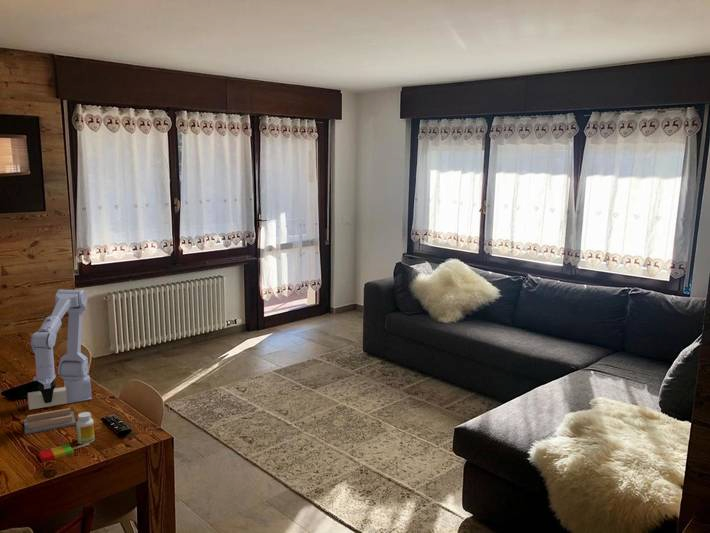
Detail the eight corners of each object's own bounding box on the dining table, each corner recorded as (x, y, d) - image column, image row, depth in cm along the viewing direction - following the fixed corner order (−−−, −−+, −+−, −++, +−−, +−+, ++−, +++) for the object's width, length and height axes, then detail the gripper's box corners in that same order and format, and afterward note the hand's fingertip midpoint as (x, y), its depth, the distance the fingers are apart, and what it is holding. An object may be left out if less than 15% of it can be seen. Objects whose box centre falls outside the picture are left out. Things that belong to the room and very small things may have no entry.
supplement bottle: (98, 438, 201) (96, 412, 199) (86, 445, 196) (84, 419, 194) (85, 435, 203) (84, 409, 201) (73, 442, 198) (71, 416, 196)
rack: (73, 413, 219) (72, 406, 218) (75, 424, 210) (75, 417, 210) (24, 422, 211) (23, 414, 210) (25, 434, 203) (24, 426, 202)
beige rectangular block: (66, 399, 214) (65, 386, 213) (66, 403, 211) (66, 390, 210) (28, 405, 208) (27, 392, 207) (29, 409, 205) (27, 396, 204)
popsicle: (38, 456, 190) (38, 451, 189) (87, 443, 199) (86, 438, 199) (42, 464, 186) (42, 458, 185) (92, 449, 195) (91, 444, 195)
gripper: (31, 359, 211) (34, 394, 213) (32, 373, 198) (35, 410, 201) (53, 356, 214) (56, 391, 217) (56, 370, 202) (58, 406, 205)
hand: (47, 400), depth 209 cm, fingers closed on beige rectangular block, 3 cm apart
